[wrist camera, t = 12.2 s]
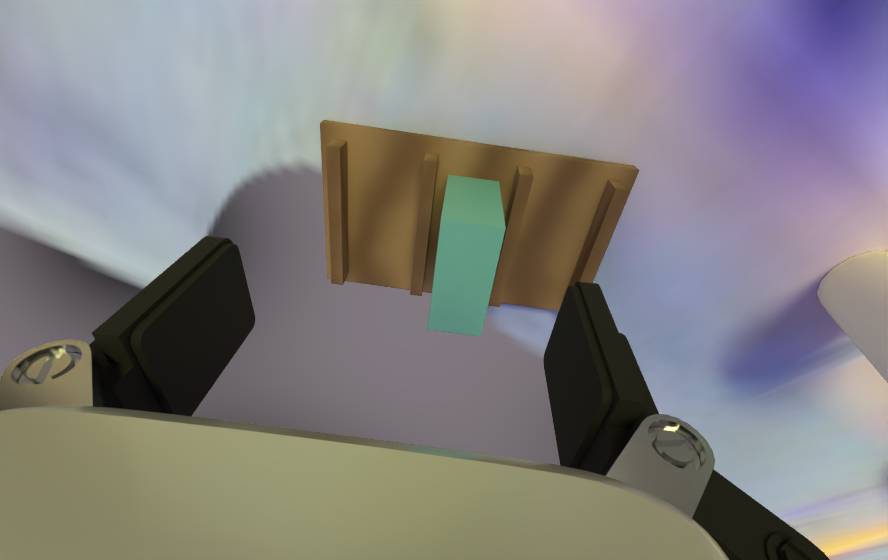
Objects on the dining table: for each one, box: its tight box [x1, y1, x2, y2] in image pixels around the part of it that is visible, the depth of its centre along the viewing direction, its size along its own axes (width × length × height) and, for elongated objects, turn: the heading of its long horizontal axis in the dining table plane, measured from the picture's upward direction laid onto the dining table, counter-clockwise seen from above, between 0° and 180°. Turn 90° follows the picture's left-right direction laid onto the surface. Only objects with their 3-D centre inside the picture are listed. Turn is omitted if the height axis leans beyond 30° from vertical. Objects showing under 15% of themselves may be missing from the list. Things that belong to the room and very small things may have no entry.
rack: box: [320, 120, 639, 311], centre depth 33 cm, size 24×14×3 cm, turn 83°
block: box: [428, 175, 506, 336], centre depth 30 cm, size 4×9×8 cm, turn 174°
